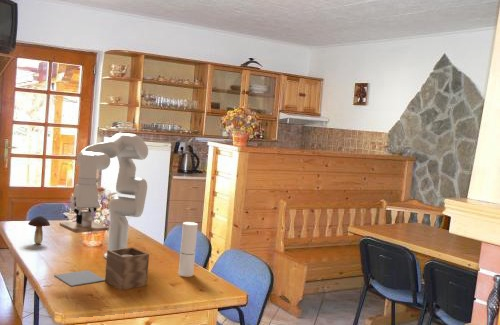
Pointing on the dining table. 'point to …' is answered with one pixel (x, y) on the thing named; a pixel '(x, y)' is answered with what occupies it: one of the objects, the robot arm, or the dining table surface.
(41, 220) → the decorative mushroom
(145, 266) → the box
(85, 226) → the lid
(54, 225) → the dining table surface
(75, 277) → the mat
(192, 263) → the cylindrical container
